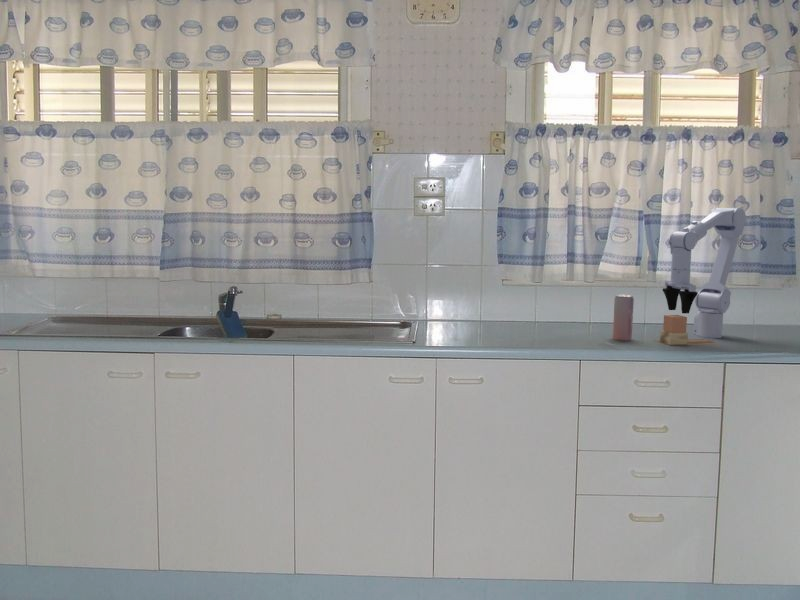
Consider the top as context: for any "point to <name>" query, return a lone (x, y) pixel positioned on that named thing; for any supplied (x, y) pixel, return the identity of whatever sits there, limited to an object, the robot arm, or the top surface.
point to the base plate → (693, 342)
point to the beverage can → (623, 317)
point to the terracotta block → (675, 324)
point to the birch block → (673, 338)
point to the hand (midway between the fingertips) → (678, 311)
